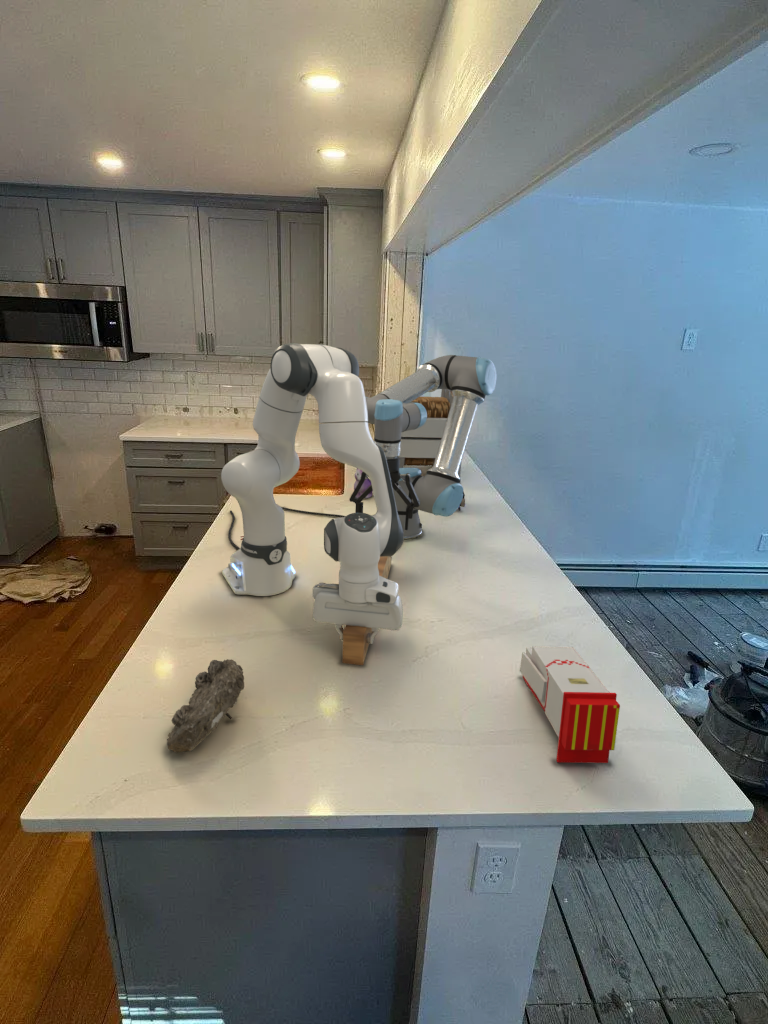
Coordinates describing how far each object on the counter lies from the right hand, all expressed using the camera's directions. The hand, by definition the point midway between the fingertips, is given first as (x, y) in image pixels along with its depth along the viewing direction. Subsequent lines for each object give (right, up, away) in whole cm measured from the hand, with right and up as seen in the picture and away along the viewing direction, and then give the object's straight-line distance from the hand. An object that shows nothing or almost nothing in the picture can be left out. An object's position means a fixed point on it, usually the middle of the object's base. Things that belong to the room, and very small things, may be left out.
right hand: (383, 526), depth 166 cm
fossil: (-33, -35, -58) cm, 75 cm away
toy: (+35, -36, -52) cm, 73 cm away
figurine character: (+29, +6, +64) cm, 70 cm away
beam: (-3, -21, -15) cm, 26 cm away
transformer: (+17, +23, +109) cm, 113 cm away
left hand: (-6, -25, -37) cm, 45 cm away
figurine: (-9, +11, +71) cm, 73 cm away
